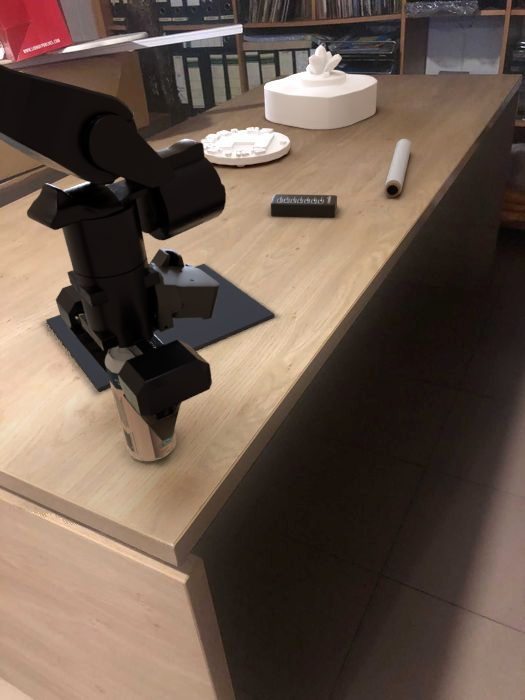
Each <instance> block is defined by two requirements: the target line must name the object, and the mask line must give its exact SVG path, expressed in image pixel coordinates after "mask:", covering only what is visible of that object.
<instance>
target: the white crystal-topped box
mask: <svg viewBox="0 0 525 700" xmlns="http://www.w3.org/2000/svg"><path fill="white" fill-rule="evenodd" d="M342 59H343V57H342V56H341V55H340V54H339V53H337V54H334V55H332V53H331V51H327V50H326V48H325V47H324V46H323V44H320V45H318V46H317V47H316V49H315V52H314V53H313V54H312V55H310V56H309V57H308V63H309V64H308V65H307V67H306V68H305V69H306V71H301V72H297V73H294V74H291V75H288V76H286V77H284V78H281V79H275V80H272V81H269V82H267V83H265V85H264V87H263V91H264V92H263V93H264V94H263V95H264V112H265V113H264V114H265V115H264V116H265V119H266V120H267V121H269V122H271V123H275V124H278V125H283V126H284V125H285V126H290V127H294V128H299V129H305V130H318V131H319V130H335V129H341V128H345V127H348V126H352V125H354V124H357V123H359V122H362V121H363V120H366V119H368V118H370V117H373V116H374V115H375V114H376V112H377V94H378V80H377V78H375V77H374V76H372V75H368V74H354V73H346V72H344V71H342V70H338V69H335V68H336V67H337V66H338V65H339V63H340V62H341V60H342Z"/></svg>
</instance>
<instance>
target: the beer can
mask: <svg viewBox="0 0 525 700" xmlns="http://www.w3.org/2000/svg"><path fill="white" fill-rule="evenodd" d="M133 357H135V356H134V355H133V354H132V353H131V352H130V351H129V349H128V348H118V347H115V348H111V349H109V350H108V352H107V356H106V358H105V366H106V369H107V373H108V377H109V381H110V385H111V387H110V388H111V391H112V396H113V399H114V404H115V408H116V411H117V414H118V419H119V422H120V426H121V430H122V434H123V437H124V442H125V445H126V450H127V452H128V454H129V455H130V456H131V457H132V458H133V459H135V460H137V461H141V462H154V461H157V460H160V459H163V458H165V457H167V456H168V455H169V454H170V453H171V452H173V450H174V449H175V447H176V445H177V434H176V429H174V433H173V436H172V437H170V438H168V439H166V440H164V441H161V440H160V438H159V437H158V436H157V435H156V434H155V433H154V432H153V430H152V429H151V428H150V427H149V426H148V425H147V424H146V423H145V421H144V420H143V419H142V418H141V417H140V416H139V415H138V414H137V413H136V411H135V410H134V409H133V408H132V406H131V405H130V404H129V403H128V401H127V400H126V399H125V398H124V396H123V394H124V392H123V390H122V388H121V385H120V382H119V378H118V373H119V372H120V370H121V368H122V367H123V365H124V364H125V362H126V360H129V359H131V358H133Z"/></svg>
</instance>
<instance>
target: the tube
mask: <svg viewBox="0 0 525 700" xmlns="http://www.w3.org/2000/svg"><path fill="white" fill-rule="evenodd" d="M411 149H412V142H411V141H410V139H409V138H408V139H407V138H401V139H399V140H398V141H397V143H396V145H395V150H394V153H393V156H392V159H391V162H390V163H391V164H390V167H389V171H388V173H387V177H386V181H385V184H384V192H385V193H386V195H387V196H389V197H391V198H393V197H397V196H398V195H399V194H401V193H402V189H403V185H404V182H405V177H406V172H407V169H408V168H407V167H408V164H409V159H410V154H411Z"/></svg>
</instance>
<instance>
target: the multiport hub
mask: <svg viewBox="0 0 525 700" xmlns="http://www.w3.org/2000/svg"><path fill="white" fill-rule="evenodd" d="M271 199H272V200H271V202H270V216H271V217H276V218H277V217H282V218H316V219H317V218H318V219H319V218H323V219H334V218H336V214H337V211H338V196H337V195H335V194H334V195H333V194H287V193H286V194H284V193H283V194H281V193H277V194H274V195H273V197H272V198H271Z"/></svg>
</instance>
